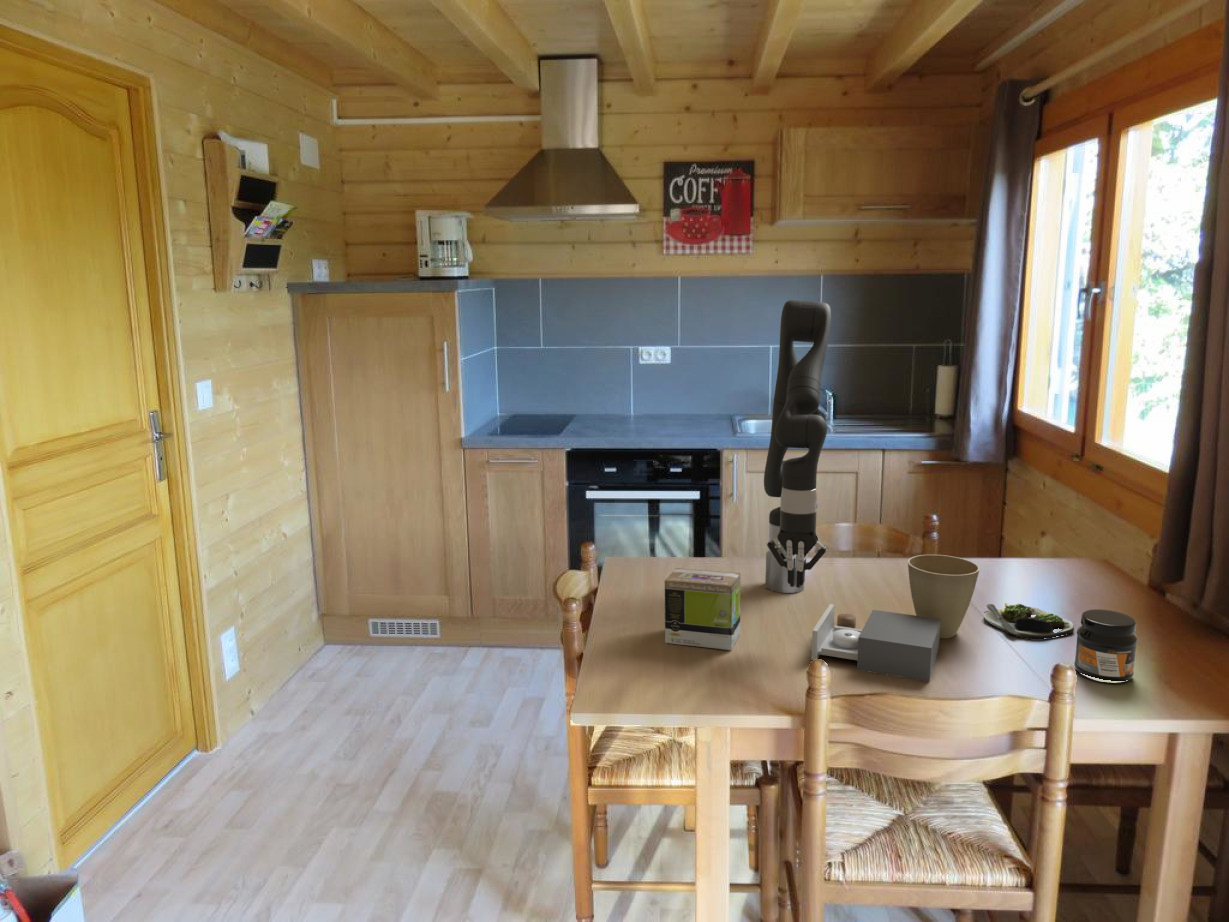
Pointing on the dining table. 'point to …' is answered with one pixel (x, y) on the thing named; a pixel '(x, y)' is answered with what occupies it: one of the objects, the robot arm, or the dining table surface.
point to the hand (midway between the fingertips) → (796, 586)
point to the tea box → (702, 608)
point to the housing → (899, 645)
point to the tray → (830, 638)
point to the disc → (846, 638)
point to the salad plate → (1027, 621)
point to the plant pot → (942, 589)
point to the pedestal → (846, 620)
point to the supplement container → (1106, 645)
